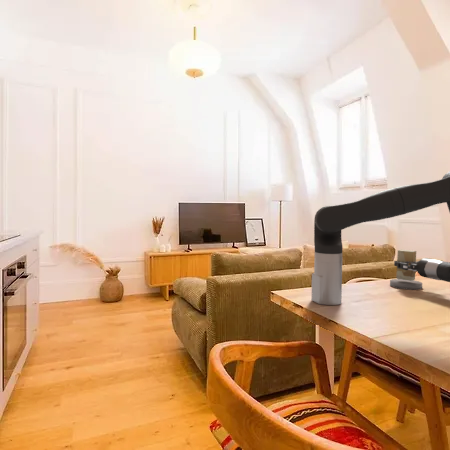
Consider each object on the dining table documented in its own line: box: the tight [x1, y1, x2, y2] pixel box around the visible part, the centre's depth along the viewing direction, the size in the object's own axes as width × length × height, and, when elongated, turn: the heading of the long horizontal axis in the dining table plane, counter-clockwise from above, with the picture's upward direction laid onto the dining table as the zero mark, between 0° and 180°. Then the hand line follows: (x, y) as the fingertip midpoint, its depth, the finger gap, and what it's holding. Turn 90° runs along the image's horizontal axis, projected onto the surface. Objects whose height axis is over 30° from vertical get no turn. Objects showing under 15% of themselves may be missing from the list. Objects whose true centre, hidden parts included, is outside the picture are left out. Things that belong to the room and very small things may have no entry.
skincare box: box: [395, 249, 417, 281], centre depth 143 cm, size 6×4×12 cm
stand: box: [389, 278, 423, 291], centre depth 143 cm, size 12×12×2 cm
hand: (402, 263), depth 145 cm, fingers closed on skincare box, 6 cm apart
